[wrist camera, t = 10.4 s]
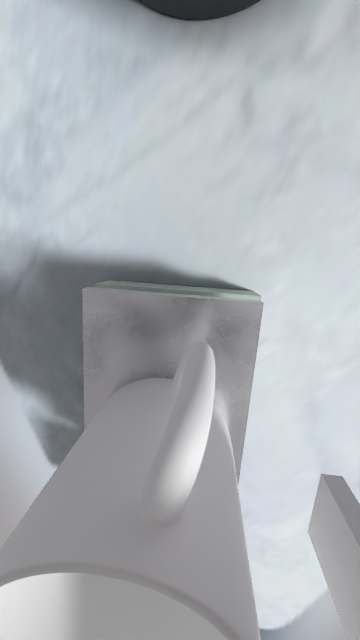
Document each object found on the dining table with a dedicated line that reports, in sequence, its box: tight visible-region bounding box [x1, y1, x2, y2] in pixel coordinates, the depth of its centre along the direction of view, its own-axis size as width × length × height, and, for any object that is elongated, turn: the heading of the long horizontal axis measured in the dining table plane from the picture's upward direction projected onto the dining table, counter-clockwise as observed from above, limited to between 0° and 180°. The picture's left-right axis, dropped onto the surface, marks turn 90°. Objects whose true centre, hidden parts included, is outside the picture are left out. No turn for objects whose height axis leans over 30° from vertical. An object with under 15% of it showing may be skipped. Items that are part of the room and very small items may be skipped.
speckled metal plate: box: [82, 287, 263, 483], centre depth 18 cm, size 14×10×3 cm
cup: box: [0, 341, 261, 640], centre depth 11 cm, size 8×12×10 cm
